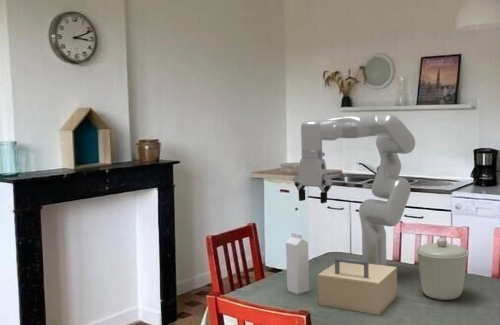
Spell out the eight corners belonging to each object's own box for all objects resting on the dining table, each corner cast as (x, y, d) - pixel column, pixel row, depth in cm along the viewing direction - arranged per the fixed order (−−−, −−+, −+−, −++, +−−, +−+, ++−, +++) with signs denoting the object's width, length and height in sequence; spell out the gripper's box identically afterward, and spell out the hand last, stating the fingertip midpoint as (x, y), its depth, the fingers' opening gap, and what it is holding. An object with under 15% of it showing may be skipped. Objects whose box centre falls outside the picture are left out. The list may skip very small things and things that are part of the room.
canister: (434, 307, 188) (434, 246, 186) (406, 290, 205) (405, 235, 203) (479, 300, 192) (480, 241, 190) (448, 285, 210) (448, 230, 208)
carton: (340, 287, 211) (339, 262, 210) (397, 296, 199) (396, 269, 198) (318, 304, 194) (317, 276, 193) (379, 314, 182) (378, 285, 181)
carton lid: (339, 262, 210) (339, 245, 209) (396, 269, 198) (396, 251, 198) (317, 276, 193) (317, 258, 192) (378, 285, 181) (378, 266, 181)
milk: (297, 294, 205) (295, 236, 203) (287, 290, 210) (285, 234, 208) (309, 290, 209) (308, 234, 206) (299, 286, 214) (297, 231, 211)
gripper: (337, 155, 197) (338, 202, 199) (299, 153, 209) (300, 198, 210) (325, 157, 192) (326, 205, 193) (286, 155, 203) (288, 201, 205)
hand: (312, 201), depth 202 cm, fingers open, 9 cm apart
